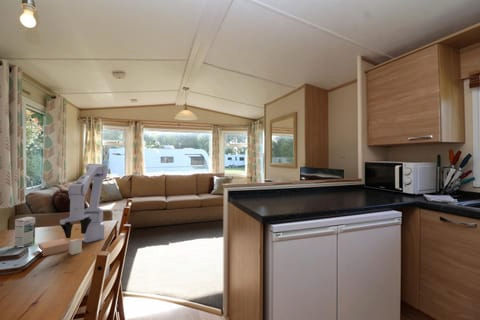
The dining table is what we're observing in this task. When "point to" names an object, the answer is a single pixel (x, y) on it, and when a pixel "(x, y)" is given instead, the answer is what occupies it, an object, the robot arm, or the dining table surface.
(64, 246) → the base block
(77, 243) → the white upright block
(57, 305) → the dining table surface
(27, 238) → the syrup box
